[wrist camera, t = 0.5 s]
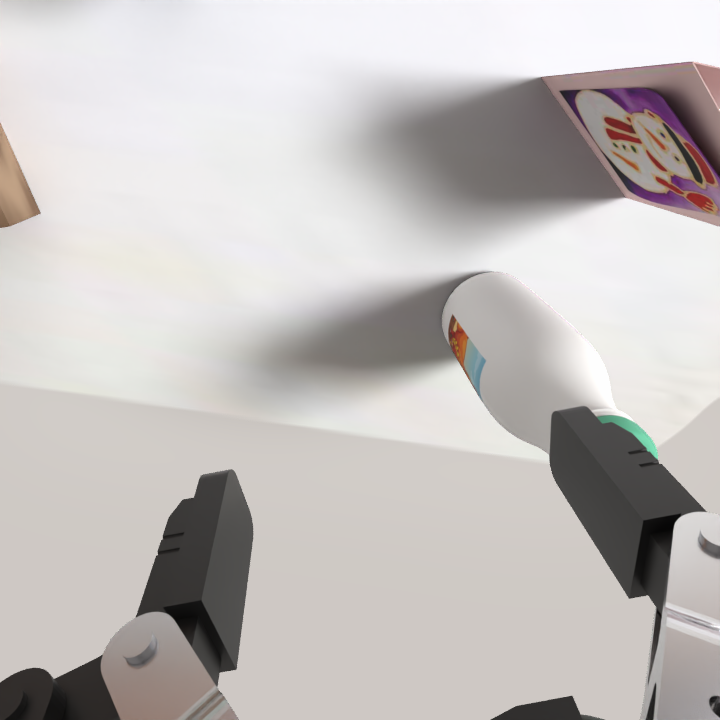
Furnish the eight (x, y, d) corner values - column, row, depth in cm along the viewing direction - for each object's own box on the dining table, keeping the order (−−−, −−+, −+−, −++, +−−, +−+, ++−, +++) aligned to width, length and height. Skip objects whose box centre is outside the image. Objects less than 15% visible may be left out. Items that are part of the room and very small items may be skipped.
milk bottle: (449, 265, 39) (563, 401, 21) (540, 272, 40) (721, 408, 22) (432, 352, 43) (518, 529, 25) (516, 356, 44) (657, 530, 26)
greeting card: (530, 87, 34) (673, 79, 20) (622, -7, 32) (848, -84, 18) (616, 205, 38) (779, 262, 25) (701, 129, 36) (929, 147, 23)
